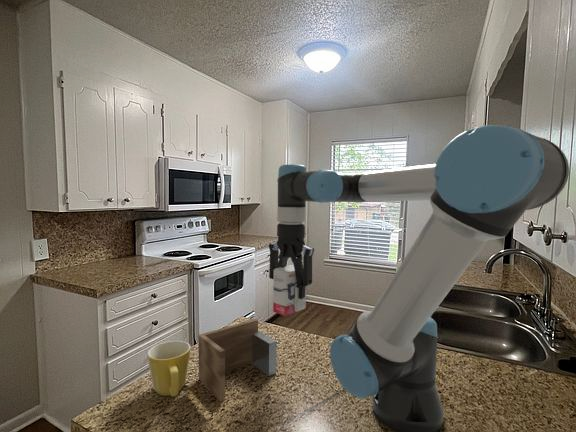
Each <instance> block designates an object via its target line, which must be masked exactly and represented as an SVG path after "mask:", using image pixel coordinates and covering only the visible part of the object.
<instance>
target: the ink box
mask: <svg viewBox="0 0 576 432" xmlns="http://www.w3.org/2000/svg"><path fill="white" fill-rule="evenodd" d="M297 285H298V284H297V279H296V274H295V269H294V264H290V265H286V266H284V267H280V268H276V269H274V280H273V286H272V287H273V289H272V292H273V295H272V298H273V299H272V300H273V302H272V303H273V304H272V306H273V307H272V310H273V311H272V312H273V313H276V314H279V315H282V316H284V317H287V316H289V315H292V314H295V313H297V312H300V311H302V310H305V309H306V307H307V305H306V303H307V300H306V299H307V298H306V297H307V286H306V287H305V298H303V308H302V309H301V310H299V311H295V287H296V286H297Z"/></svg>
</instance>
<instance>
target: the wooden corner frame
mask: <svg viewBox="0 0 576 432" xmlns="http://www.w3.org/2000/svg"><path fill="white" fill-rule="evenodd" d="M257 332H259V320H258V319H257V318H255V319H251V320H247V321H245V322H240V323H236V324H233V325H230V326H226V327H222V328H218V329H215V330H212V331H208V332H205V333H200V334H198V380H199V381H200V383H202V385H203V386H204V387H205V388H206V389H207V390H208V391H209V392H210V393H211V394H212V395H213V396H214V397H215V398H216V399H217V400H218V402H220V403H221V402H224V401H226V373H227V372H229V371H232V370H234V369H238V368H241V367H242V366H246V365H249V364H250V363H252V352H253V334H254V333H257Z"/></svg>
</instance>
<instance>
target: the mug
mask: <svg viewBox="0 0 576 432" xmlns="http://www.w3.org/2000/svg"><path fill="white" fill-rule="evenodd" d="M191 348H192V347H191V344H190V343H188V342H186V341H182V340H170V341H165V342H161V343H158V344H156V345H154V346H152V347H151V348H150V349H148V351H147V361H148V366H149V372H150V378H151V383H152V388H153V390H154V391H155V392H156V393H157V394H159V395H160V396H165V397H167V396H168V397H169V396H171V397H177V396H178V395H179V392H180V391H181V390H182V388H184V386H185V385H186V383H187V379H188V378H187V377H188V371H189V370H188V369H189V362H190V361H189V360H190V354H191Z"/></svg>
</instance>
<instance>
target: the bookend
mask: <svg viewBox="0 0 576 432" xmlns="http://www.w3.org/2000/svg"><path fill="white" fill-rule="evenodd" d="M277 344H278V343H277V340H275V339H273V338H272V337H270V336H268V335H267V334H265V333H263V332H262V331H258V332H257V333H254V334H253V352H252V362H251V363H252V364H251V365H252V366H254V367H255V368H257V370H259V371H261V372H262V373H263V374H265V376H267V377H271V376H273V375H276V374H277V355H278V354H277V353H278V352H277V347H278V346H277Z"/></svg>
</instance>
